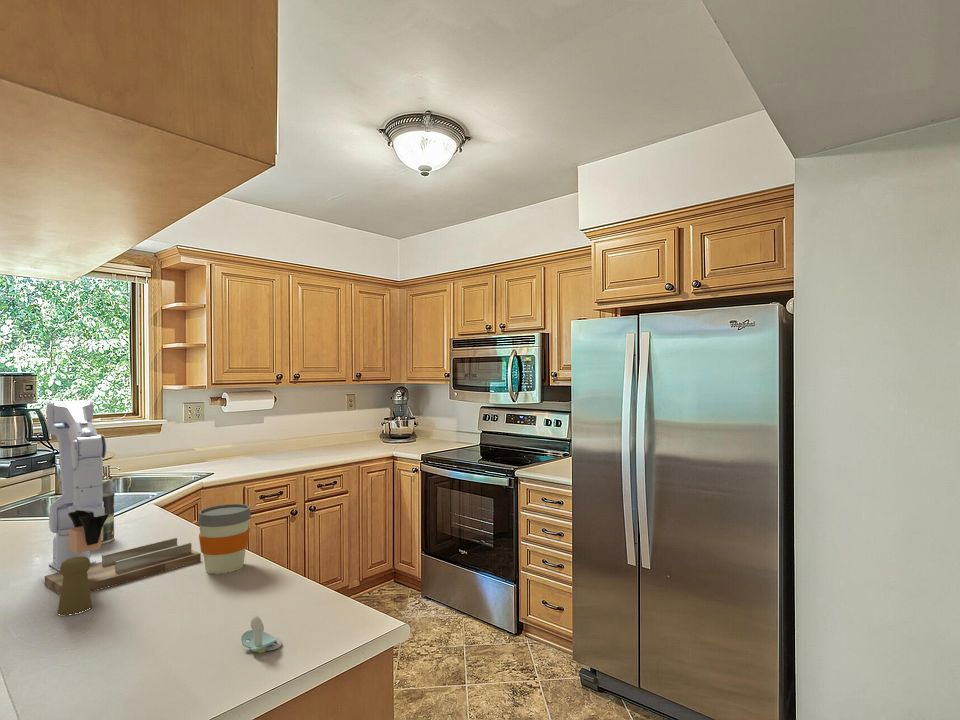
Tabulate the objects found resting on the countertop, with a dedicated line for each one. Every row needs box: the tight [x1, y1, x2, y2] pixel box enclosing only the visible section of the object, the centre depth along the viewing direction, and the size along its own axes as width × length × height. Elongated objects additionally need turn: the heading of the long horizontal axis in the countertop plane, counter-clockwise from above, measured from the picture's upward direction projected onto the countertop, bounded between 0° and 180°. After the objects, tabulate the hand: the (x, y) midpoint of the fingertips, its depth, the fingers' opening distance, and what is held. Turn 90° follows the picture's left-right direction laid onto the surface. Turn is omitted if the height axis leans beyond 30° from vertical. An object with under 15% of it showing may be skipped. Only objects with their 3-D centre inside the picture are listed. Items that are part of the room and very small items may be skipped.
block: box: [69, 526, 102, 553], centre depth 132 cm, size 5×5×5 cm
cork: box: [57, 556, 93, 615], centre depth 117 cm, size 6×6×11 cm
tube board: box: [44, 537, 202, 595], centre depth 139 cm, size 15×30×4 cm, turn 144°
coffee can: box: [101, 491, 115, 545], centre depth 165 cm, size 10×10×14 cm
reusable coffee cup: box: [197, 503, 252, 575], centre depth 141 cm, size 13×13×15 cm
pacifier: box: [240, 614, 283, 653], centre depth 100 cm, size 7×6×6 cm
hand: (88, 541), depth 132 cm, fingers closed on block, 5 cm apart
